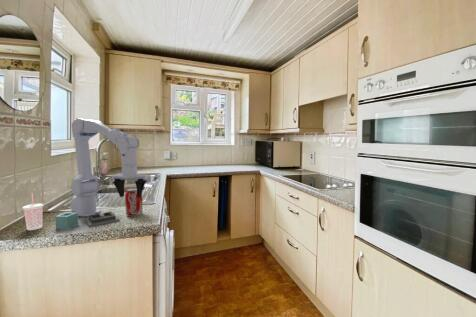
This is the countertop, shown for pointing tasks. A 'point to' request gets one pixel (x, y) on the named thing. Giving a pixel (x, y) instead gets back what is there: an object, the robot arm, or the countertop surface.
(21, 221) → the countertop surface
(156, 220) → the countertop surface
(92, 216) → the locator frame
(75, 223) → the teal cube
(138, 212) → the soda can
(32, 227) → the beverage cup
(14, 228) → the countertop surface
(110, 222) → the slate base
